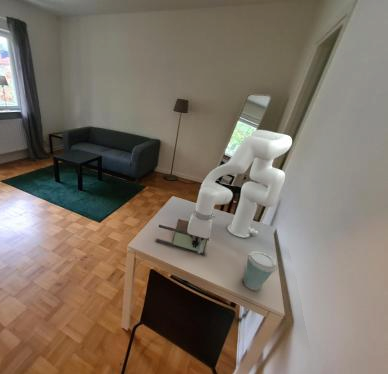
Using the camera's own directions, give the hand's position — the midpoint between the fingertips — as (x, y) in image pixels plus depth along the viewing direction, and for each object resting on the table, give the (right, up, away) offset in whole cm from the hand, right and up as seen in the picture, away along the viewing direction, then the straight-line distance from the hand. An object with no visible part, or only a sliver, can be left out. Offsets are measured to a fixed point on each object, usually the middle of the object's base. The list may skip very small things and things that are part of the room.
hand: (194, 246), depth 103 cm
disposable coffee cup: (+22, -14, -11) cm, 28 cm away
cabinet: (-4, -1, +11) cm, 12 cm away
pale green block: (-3, -3, +4) cm, 5 cm away
